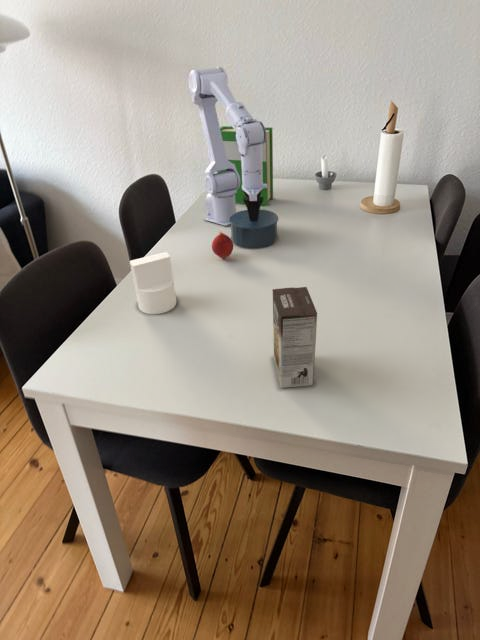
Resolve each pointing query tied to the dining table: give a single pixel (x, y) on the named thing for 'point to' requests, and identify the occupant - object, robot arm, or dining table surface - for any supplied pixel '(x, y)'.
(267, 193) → the hardback book
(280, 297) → the coffee box
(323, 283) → the dining table surface
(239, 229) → the pot
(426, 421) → the dining table surface
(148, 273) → the base with upright slab
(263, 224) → the pot lid
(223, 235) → the red round fruit
